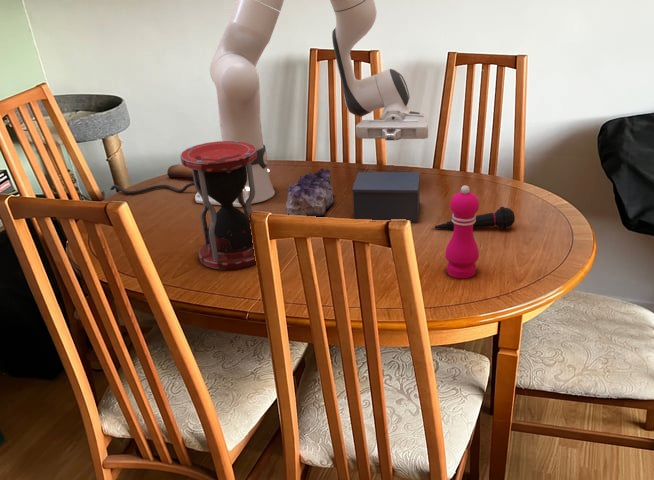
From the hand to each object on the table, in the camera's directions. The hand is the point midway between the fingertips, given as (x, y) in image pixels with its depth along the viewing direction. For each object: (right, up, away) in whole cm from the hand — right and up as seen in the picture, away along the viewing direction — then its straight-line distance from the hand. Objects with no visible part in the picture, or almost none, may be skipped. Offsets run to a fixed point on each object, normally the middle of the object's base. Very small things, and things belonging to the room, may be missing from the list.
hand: (390, 137), depth 167 cm
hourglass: (-37, -33, -21) cm, 54 cm away
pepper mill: (+15, -37, -31) cm, 51 cm away
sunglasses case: (-60, -6, +26) cm, 65 cm away
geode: (-21, -18, +4) cm, 28 cm away
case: (-1, -20, -1) cm, 20 cm away
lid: (-1, -13, -5) cm, 14 cm away
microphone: (+21, -26, -11) cm, 35 cm away
